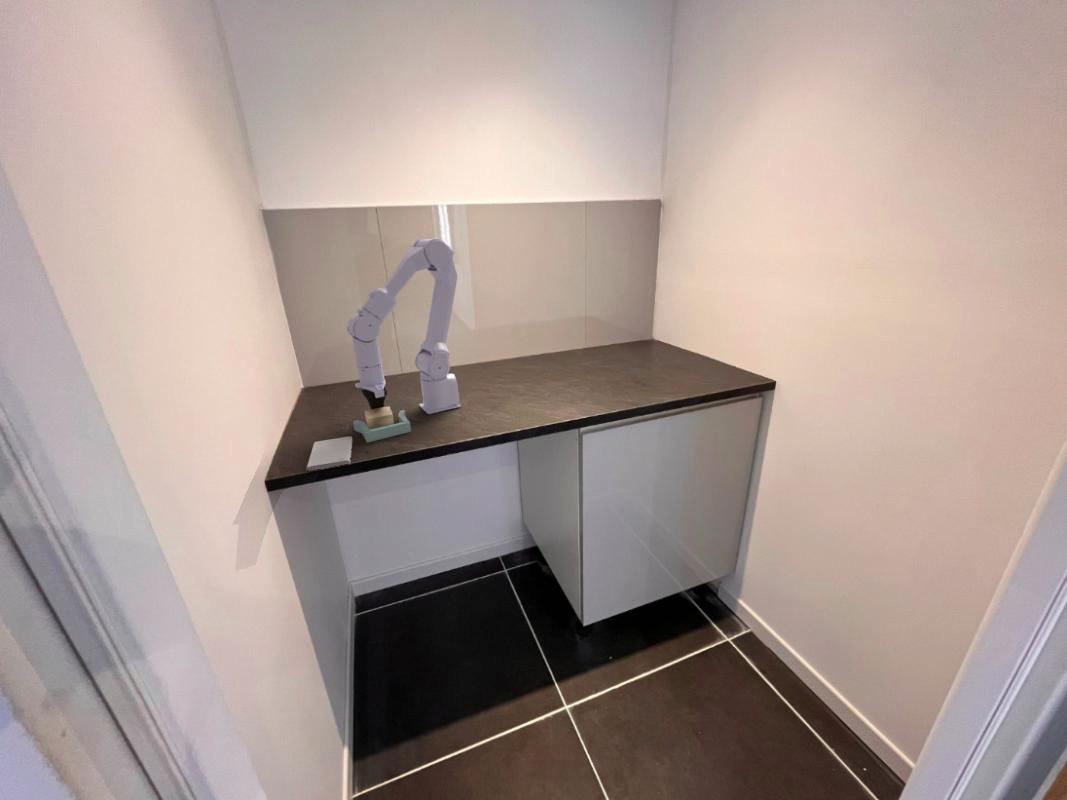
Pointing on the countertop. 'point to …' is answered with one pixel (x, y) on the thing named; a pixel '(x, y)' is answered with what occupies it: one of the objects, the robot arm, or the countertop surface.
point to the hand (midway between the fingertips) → (378, 415)
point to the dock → (383, 429)
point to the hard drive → (330, 453)
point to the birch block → (379, 417)
